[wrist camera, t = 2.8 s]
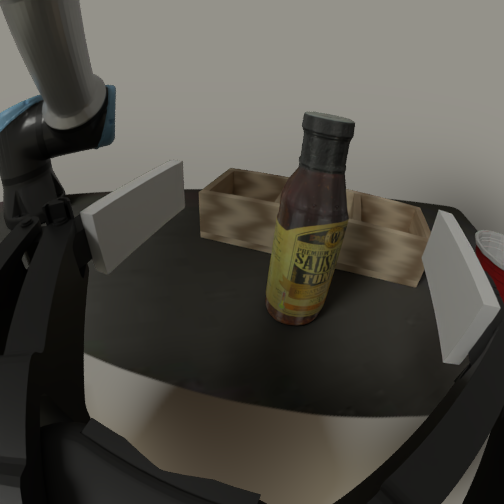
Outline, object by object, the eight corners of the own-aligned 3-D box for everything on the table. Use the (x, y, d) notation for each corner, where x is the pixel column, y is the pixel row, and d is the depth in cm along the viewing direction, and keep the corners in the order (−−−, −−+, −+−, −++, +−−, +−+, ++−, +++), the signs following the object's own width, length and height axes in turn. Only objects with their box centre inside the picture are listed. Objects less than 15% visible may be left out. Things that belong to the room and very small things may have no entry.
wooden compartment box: (200, 237, 41) (198, 192, 37) (229, 205, 50) (230, 167, 46) (415, 287, 34) (435, 244, 30) (407, 245, 43) (420, 207, 39)
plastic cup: (464, 291, 33) (498, 221, 27) (508, 340, 25) (554, 270, 18) (421, 311, 31) (461, 227, 24) (472, 374, 22) (534, 292, 15)
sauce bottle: (283, 337, 27) (319, 121, 16) (253, 297, 32) (267, 107, 20) (334, 315, 30) (383, 127, 19) (302, 281, 34) (330, 110, 23)
